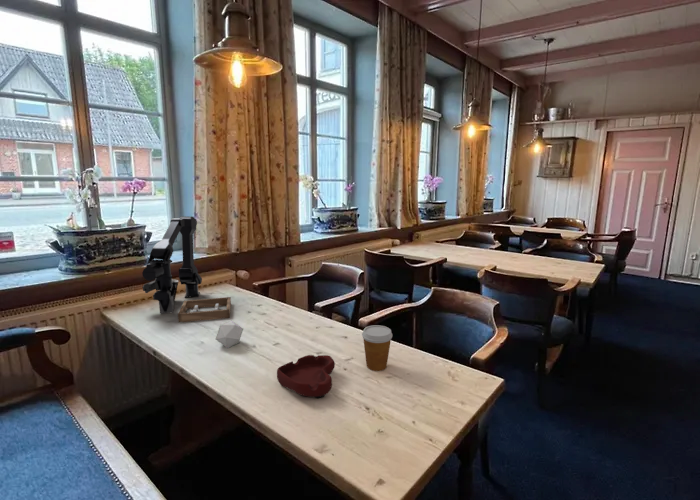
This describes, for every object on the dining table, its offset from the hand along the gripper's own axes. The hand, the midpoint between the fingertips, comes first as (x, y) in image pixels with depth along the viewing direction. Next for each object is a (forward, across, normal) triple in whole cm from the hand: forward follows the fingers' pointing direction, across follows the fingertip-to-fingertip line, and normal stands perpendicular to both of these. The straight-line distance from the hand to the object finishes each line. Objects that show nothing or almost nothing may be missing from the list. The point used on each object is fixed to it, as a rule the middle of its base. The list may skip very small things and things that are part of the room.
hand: (167, 308), depth 168 cm
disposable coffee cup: (+1, +72, +73) cm, 103 cm away
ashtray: (+2, +76, +50) cm, 91 cm away
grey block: (+1, 0, 0) cm, 1 cm away
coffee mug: (+1, -11, -2) cm, 11 cm away
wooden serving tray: (+1, +7, +17) cm, 18 cm away
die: (+1, +43, +28) cm, 51 cm away
